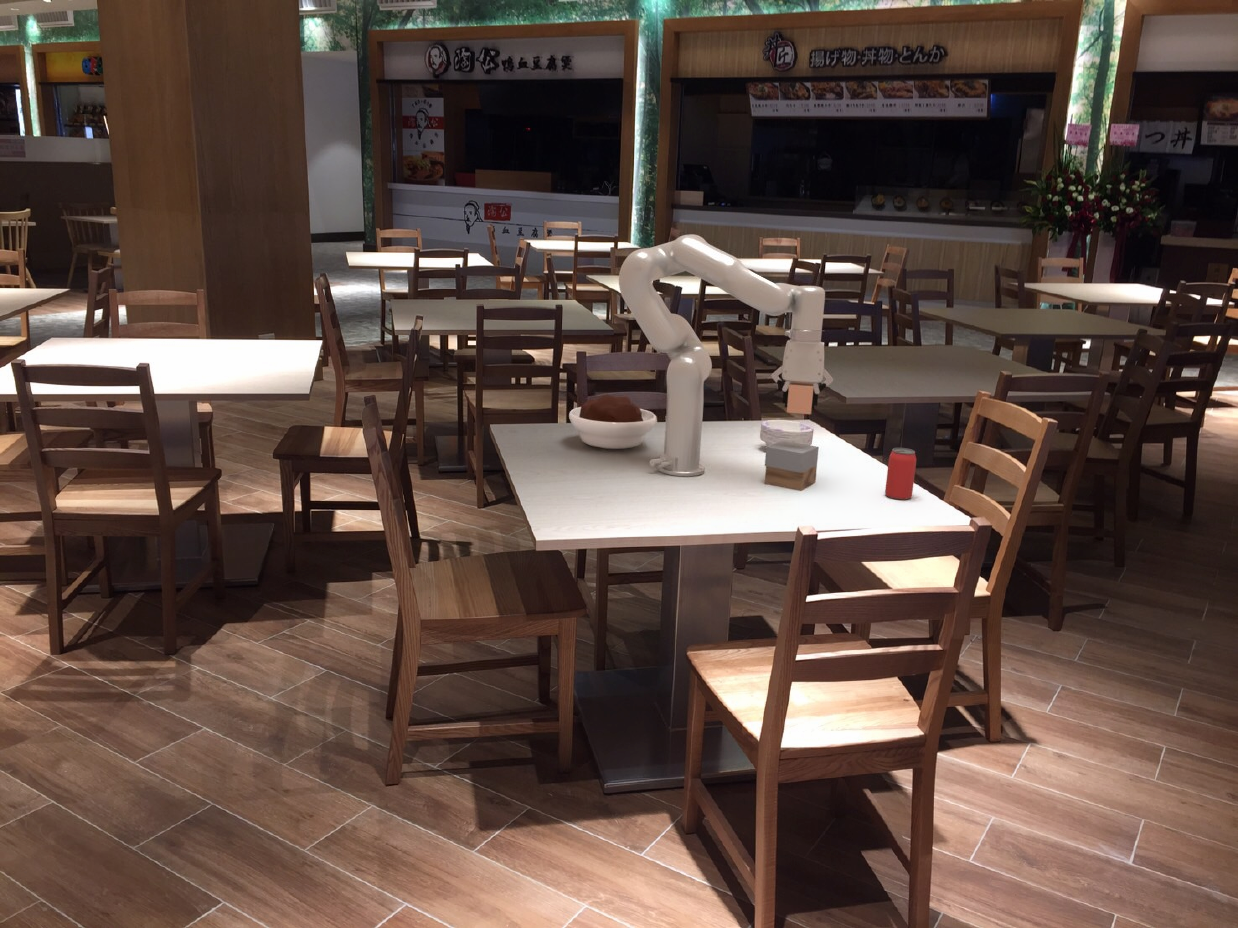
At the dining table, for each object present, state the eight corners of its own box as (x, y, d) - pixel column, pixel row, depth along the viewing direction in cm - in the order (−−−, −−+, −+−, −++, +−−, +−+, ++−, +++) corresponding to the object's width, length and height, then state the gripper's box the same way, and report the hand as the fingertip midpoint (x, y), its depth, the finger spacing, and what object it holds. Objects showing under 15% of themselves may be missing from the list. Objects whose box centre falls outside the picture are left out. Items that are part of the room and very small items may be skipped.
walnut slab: (801, 492, 259) (803, 472, 257) (764, 485, 263) (766, 466, 262) (815, 483, 267) (816, 465, 266) (779, 477, 272) (780, 458, 271)
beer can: (882, 492, 261) (887, 446, 258) (908, 493, 261) (913, 448, 258) (887, 499, 254) (893, 452, 251) (914, 501, 254) (920, 454, 251)
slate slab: (800, 472, 257) (802, 453, 256) (764, 465, 263) (766, 446, 261) (816, 465, 265) (818, 446, 264) (781, 458, 271) (783, 440, 269)
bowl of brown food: (610, 432, 313) (613, 383, 309) (672, 448, 296) (675, 397, 293) (550, 443, 296) (551, 391, 292) (611, 461, 279) (614, 406, 275)
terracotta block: (786, 412, 258) (789, 384, 256) (787, 408, 263) (789, 381, 262) (810, 414, 257) (813, 386, 255) (811, 409, 262) (813, 382, 261)
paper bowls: (822, 454, 298) (824, 427, 296) (783, 459, 290) (786, 432, 288) (786, 443, 310) (788, 417, 309) (748, 447, 302) (750, 421, 300)
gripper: (770, 335, 253) (764, 407, 258) (841, 340, 250) (834, 413, 255) (771, 332, 260) (766, 402, 265) (840, 337, 257) (834, 407, 262)
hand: (799, 406), depth 260 cm, fingers closed on terracotta block, 6 cm apart
